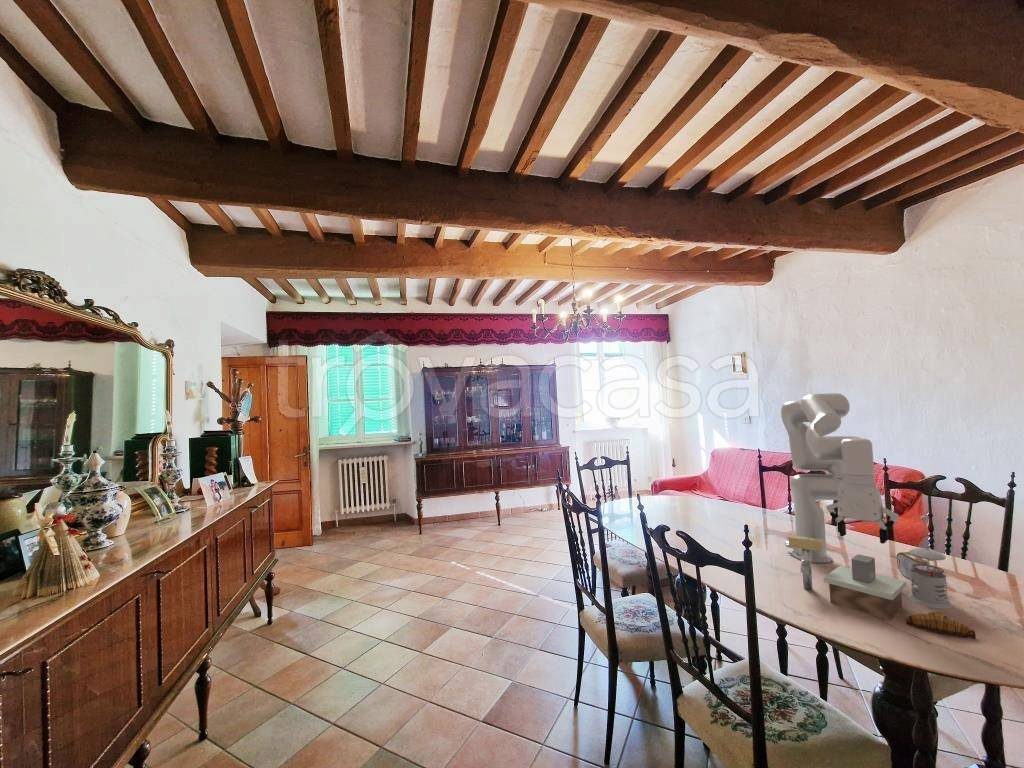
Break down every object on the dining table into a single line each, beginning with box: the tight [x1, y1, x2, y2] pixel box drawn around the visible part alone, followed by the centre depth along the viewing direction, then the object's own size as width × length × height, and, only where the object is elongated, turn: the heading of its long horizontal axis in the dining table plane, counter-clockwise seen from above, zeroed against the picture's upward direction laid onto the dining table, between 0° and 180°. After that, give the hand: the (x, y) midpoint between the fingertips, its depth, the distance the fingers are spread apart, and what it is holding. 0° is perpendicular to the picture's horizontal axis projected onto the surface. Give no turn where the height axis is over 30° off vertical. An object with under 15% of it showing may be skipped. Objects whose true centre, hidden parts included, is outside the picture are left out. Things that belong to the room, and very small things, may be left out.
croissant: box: [904, 611, 977, 639], centre depth 116 cm, size 14×7×5 cm, turn 54°
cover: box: [823, 553, 907, 600], centre depth 131 cm, size 16×14×8 cm
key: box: [787, 534, 823, 590], centre depth 140 cm, size 10×9×16 cm
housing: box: [828, 583, 903, 621], centre depth 131 cm, size 14×12×6 cm
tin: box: [895, 551, 933, 583], centre depth 146 cm, size 15×3×8 cm, turn 168°
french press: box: [907, 515, 953, 609], centre depth 133 cm, size 10×12×25 cm
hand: (862, 538), depth 131 cm, fingers open, 9 cm apart
